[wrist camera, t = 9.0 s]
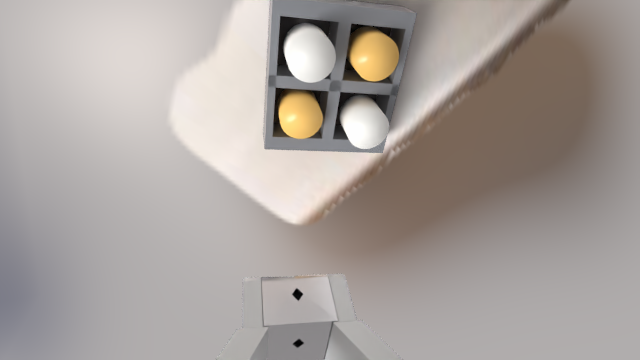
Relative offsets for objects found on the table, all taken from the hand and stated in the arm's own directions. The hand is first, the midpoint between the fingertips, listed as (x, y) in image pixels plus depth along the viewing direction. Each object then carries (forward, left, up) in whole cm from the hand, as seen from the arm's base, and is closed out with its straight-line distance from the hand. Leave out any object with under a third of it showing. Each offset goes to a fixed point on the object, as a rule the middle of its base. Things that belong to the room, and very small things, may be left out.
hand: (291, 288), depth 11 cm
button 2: (+1, +7, -17) cm, 18 cm away
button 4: (-3, +7, -18) cm, 20 cm away
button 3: (-3, +2, -17) cm, 18 cm away
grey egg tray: (-1, +5, -19) cm, 19 cm away
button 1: (+1, +2, -18) cm, 18 cm away
